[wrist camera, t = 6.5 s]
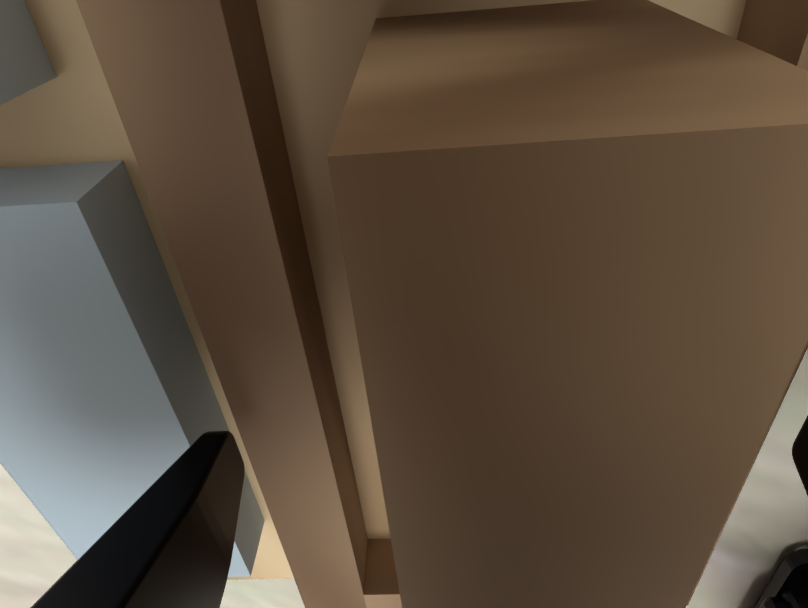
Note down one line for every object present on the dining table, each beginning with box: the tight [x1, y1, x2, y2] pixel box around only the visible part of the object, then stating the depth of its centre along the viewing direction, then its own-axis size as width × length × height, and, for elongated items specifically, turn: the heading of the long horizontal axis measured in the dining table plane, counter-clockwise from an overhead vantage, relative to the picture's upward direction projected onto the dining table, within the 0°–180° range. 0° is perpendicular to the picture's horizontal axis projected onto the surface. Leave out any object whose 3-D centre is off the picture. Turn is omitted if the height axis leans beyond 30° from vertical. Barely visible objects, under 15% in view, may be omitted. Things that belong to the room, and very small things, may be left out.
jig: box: [0, 0, 808, 608], centre depth 11 cm, size 16×18×3 cm
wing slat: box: [0, 160, 265, 577], centre depth 11 cm, size 4×10×2 cm, turn 5°
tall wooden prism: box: [327, 0, 808, 608], centre depth 8 cm, size 4×12×6 cm, turn 5°
